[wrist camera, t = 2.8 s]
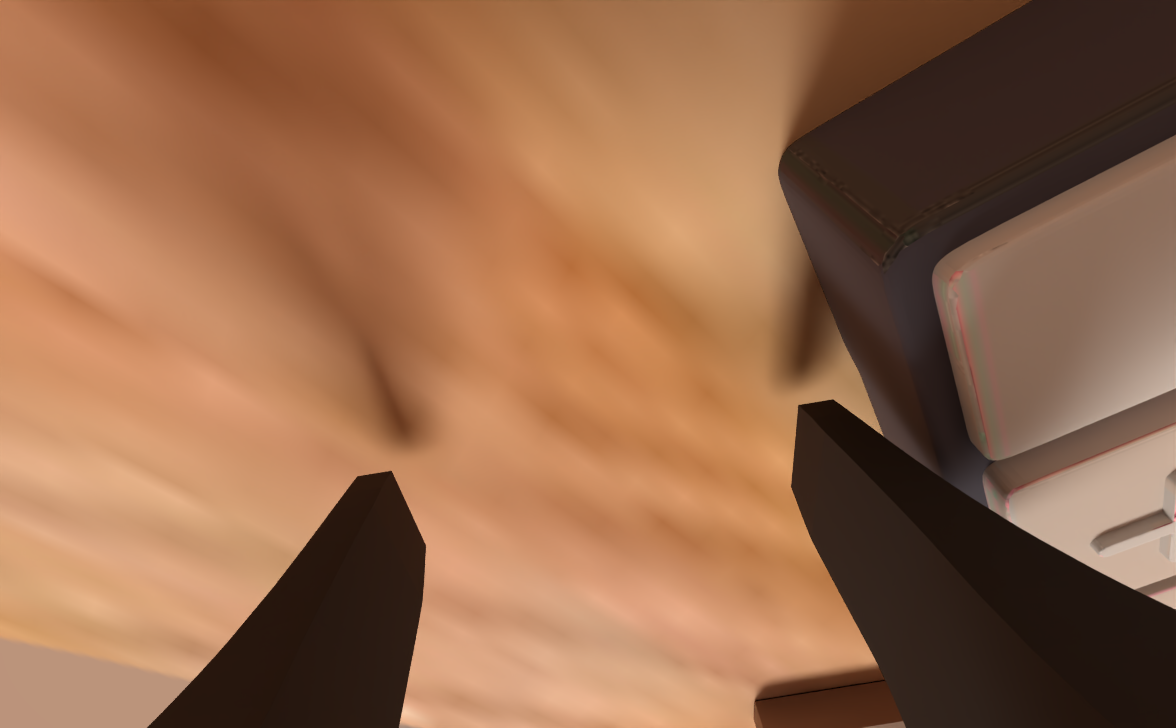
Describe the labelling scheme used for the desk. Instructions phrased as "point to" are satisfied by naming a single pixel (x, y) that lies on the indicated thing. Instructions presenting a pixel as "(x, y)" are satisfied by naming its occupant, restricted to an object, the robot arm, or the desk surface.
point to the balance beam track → (832, 709)
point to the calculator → (1019, 271)
